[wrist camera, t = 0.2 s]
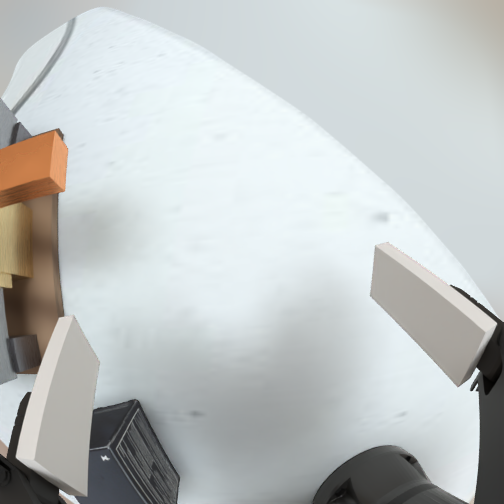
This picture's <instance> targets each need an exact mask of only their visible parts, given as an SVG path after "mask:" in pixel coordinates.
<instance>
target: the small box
mask: <svg viewBox="0 0 504 504" xmlns="http://www.w3.org/2000/svg"><path fill="white" fill-rule="evenodd" d="M179 481H180V477H179V476H178V474H177V473H176V471H175V469H174V467H173V466H172V464H171V463H170V461H169V459H168V457H167V455H166V454H165V452H164V450H163V448H162V447H161V445H160V443H159V441H158V439H157V438H156V435H155V434H154V432H153V430H152V428H151V426H150V424H149V422H148V420H147V418H146V416H145V414H144V412H143V410H142V408H141V406H140V404H139V401H137V400H131V401H128V402H126V403H122V404H118V405H114V406H108V407H104V408H98V409H95V410H93V413H92V422H91V432H90V443H89V458H88V487H87V497H85V496H75V498H76V499H77V500H78V502H79V503H80V504H177V498H178V487H179Z"/></svg>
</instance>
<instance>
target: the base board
mask: <svg viewBox="0 0 504 504" xmlns="http://www.w3.org/2000/svg"><path fill="white" fill-rule="evenodd" d="M52 131H56V133H57V134H58V135H59V137H60V138H61V140H62V141H63V134H62V132H61V131H60V129H59V128H58V129H55V130H51V131H48V132H45V133H49V132H52ZM45 133H42V134H45ZM42 134H38V135H35V136H32V137H36V136H39V135H42ZM21 203H22V204H24V205H25V206H27V207H28V208H30V209H32V210H33V217H32V254H33V275H34V278H31V279H24V280H18V281H12V288H10V289H3V296H4V306H5V315H6V323H7V329H8V336H16V335H34V334H37V339H38V345H39V350H40V355H41V360H43V357H44V354H45V352H46V349H47V346H48V344H49V341H50V339H51V336H52V334H53V331H54V329H55V326H56V324H57V322H58V319H59V318H60V317H64V311H63V304H62V295H61V286H60V275H59V261H58V236H57V208H58V193H56V194H52V195H47V196H43V197H40V198H36V199H32V200H28V201H24V202H21ZM39 368H40V365H39V366H36V367H34V368H31V369H28V370H26V371H23V372H20V373H16V374H38V371H39Z"/></svg>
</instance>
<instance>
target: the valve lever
mask: <svg viewBox="0 0 504 504" xmlns="http://www.w3.org/2000/svg"><path fill="white" fill-rule="evenodd" d="M67 156H68V148H67V146H66V145H65V144H64V142H63V141H62V140H61V138H60V137H59V135H58V134H57V133H56V131H52V132H49V133H45V134H42V135H39V136H36V137H33V138H30V139H27V140H24V141H21V142H18V143H16V144H13V145H10V146H7V147H5V148H2V149H0V208H3V207H7V206H10V205H14V204H17V203H21V202H24V201H28V200H32V199H36V198H40V197H43V196H47V195H52V194H56V193H60V192H64V191H65V184H66V168H67Z"/></svg>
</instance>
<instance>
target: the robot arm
mask: <svg viewBox="0 0 504 504" xmlns="http://www.w3.org/2000/svg"><path fill="white" fill-rule="evenodd" d="M370 296H371V297H372V298H373V299H374V300H375V301H376V302H377V303H378V304H379V305H380V306H381V307H382V308H383V309H384V310H385V311H386V312H387V313H388V314H389V315H390V316H391V317H392V318H393V319H394V320H395V321H396V322H397V323H398V324H399V325H400V326H401V327H402V328H403V329H404V330H405V331H406V333H407V334H408V335H409V336H410V337H411V338H412V339H413V340H414V341H415V342H416V343H417V344H418V345H419V346H420V347H421V348H422V349H423V350H424V351H425V352H426V353H427V354H428V355H429V357H430V358H431V359H432V360H433V361H434V362H435V363H436V364H437V365H438V366H439V367H440V368H441V369H442V370H443V372H444V373H445V374H446V375H447V376H448V377H449V378H450V379H451V380H452V381H453V383H454V384H455V385H456V386H457V387H459V386H460V385H462V384H463V383H464V382H466V381H467V380H468V379H470V377H471V376H472V374H473V372H474V370H475V368H476V367H477V368H478V369H479V370H480V372H479V374H478V375H477V377H476V379H475V380H474V382H473V384H472V385H471V389H470V391H473V389H474V388H475V386H476V385H477V383H478V387H477V389H476V391H479V410H480V446H479V464H478V476H477V485H476V493H475V500H474V504H504V322H502V321H501V320H500V319H499V318H497V317H496V316H495V315H494V314H493V313H491V312H490V311H489V310H488V309H486V308H485V307H484V306H483V305H481V304H480V303H477V301H476V300H475V299H474V298H471V297H470V295H468V294H467V293H466V292H464V291H463V290H462V289H460V288H457V287H455V286H452V285H448V284H447V283H446V282H444V281H443V280H442V279H440V278H439V277H437V276H436V275H435V274H433V273H432V272H431V271H429V270H428V269H426V268H425V267H424V266H422V265H421V264H419V263H418V262H416V261H415V260H414V259H412V258H411V257H409V256H408V255H406V254H405V253H403V252H402V251H400V250H399V249H398V248H396V247H395V246H393V245H392V244H390V243H389V242H386V243H383V244H379V245H375V252H374V264H373V274H372V283H371V292H370ZM99 366H100V361H99V360H98V358H97V356H96V355H95V353H94V351H93V349H92V348H91V346H90V344H89V342H88V341H87V339H86V337H85V335H84V333H83V332H82V330H81V328H80V326H79V324H78V322H77V320H76V318H75V316H74V315H70V316H65V317H60V318H59V319H58V322H57V324H56V326H55V329H54V331H53V334H52V336H51V339H50V341H49V344H48V346H47V349H46V352H45V354H44V357H43V360H42V362H41V365H40V368H39V371H38V374H37V377H36V380H35V383H34V386H33V389H32V392H27V393H26V395H25V396H24V398H23V399H22V401H21V402H20V405H19V409H18V412H17V415H18V416H16V419H15V426H14V427H13V431H12V435H11V439H10V444H9V448H8V453H7V458H5V457H3V456H2V455H1V454H0V504H66V502H65V501H64V500H63V499H62V498H61V497H60V496H59V489H60V490H62V491H64V492H65V493H67V494H68V495H74V496H85V497H87V487H88V458H89V443H90V432H91V422H92V413H93V405H94V397H95V390H96V384H97V377H98V371H99ZM313 504H469V503H467V502H465V501H463V500H461V499H459V498H457V497H455V496H453V495H451V494H450V493H448V492H446V491H444V490H442V489H441V488H439V487H437V486H436V485H434V484H432V483H431V481H430V480H429V478H428V477H427V475H426V474H425V472H424V470H423V469H422V467H421V466H420V464H419V463H418V461H417V460H416V458H415V457H414V456H413V455H411V454H410V453H408V452H406V451H405V450H403V449H401V448H399V447H396V446H382V447H377V448H374V449H371V450H368V451H366V452H363V453H361V454H359V455H357V456H356V457H354V458H352V459H351V460H349V461H348V462H346V463H345V464H343V465H342V466H341V467H340V468H338V469H337V470H336V471H335V472H334V473H333V474H332V475H331V476H330V477H329V478H328V479H327V480H326V481H325V482H324V484H323V485H322V486H321V488H320V489H319V491H318V492H317V494H316V496H315V498H314V501H313Z"/></svg>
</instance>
